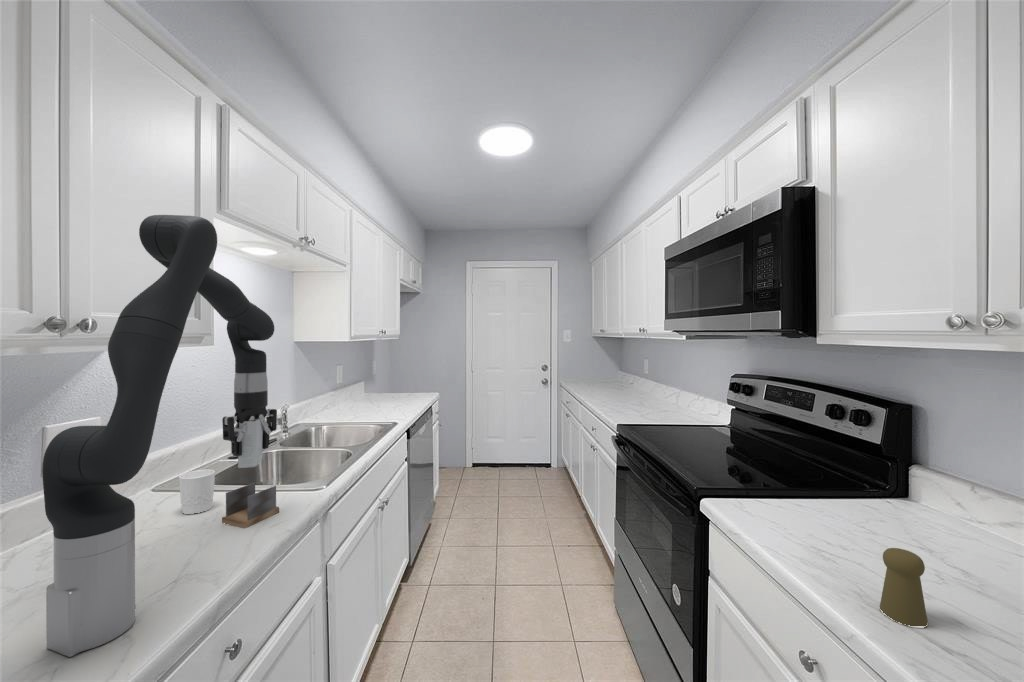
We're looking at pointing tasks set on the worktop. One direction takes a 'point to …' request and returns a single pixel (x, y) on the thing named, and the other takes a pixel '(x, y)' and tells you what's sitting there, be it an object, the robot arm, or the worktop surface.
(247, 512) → the brown gray open holder
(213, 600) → the worktop surface
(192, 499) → the white cup
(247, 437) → the skincare box
